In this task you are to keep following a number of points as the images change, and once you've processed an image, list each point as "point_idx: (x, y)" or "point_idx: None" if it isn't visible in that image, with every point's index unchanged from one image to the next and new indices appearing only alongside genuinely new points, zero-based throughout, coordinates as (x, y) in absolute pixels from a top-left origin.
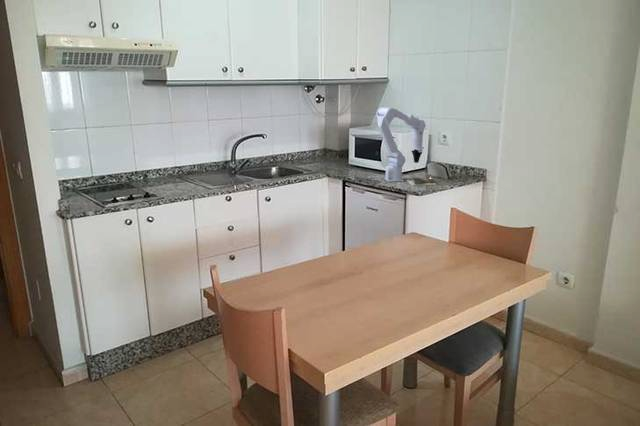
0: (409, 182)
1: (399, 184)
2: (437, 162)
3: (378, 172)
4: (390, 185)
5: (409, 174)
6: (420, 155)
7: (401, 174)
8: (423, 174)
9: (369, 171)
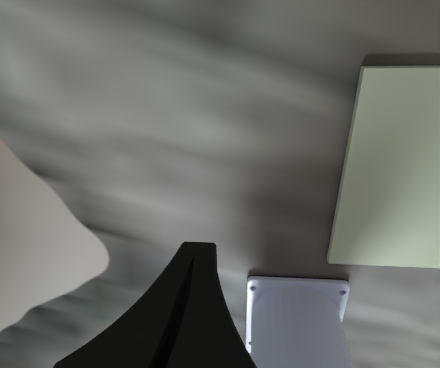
0: (418, 265)
1: (424, 320)
2: None
3: (40, 328)
4: (429, 363)
5: (75, 167)
6: (235, 328)
7: (334, 330)
8: (52, 29)
9: (20, 357)
